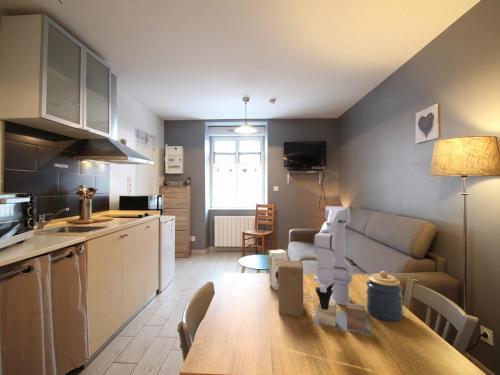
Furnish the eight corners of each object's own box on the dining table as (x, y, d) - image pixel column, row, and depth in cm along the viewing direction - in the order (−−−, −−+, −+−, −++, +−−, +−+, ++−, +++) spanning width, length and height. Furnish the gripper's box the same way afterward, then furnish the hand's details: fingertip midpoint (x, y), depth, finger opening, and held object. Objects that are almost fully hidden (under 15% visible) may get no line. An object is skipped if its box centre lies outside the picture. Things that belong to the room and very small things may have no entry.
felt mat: (317, 308, 103) (317, 307, 103) (369, 317, 95) (369, 316, 95) (312, 325, 90) (312, 324, 90) (372, 337, 82) (372, 336, 82)
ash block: (319, 318, 94) (319, 298, 94) (335, 321, 91) (335, 300, 91) (318, 324, 90) (318, 302, 90) (335, 327, 88) (335, 305, 88)
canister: (397, 308, 102) (396, 267, 102) (408, 325, 89) (407, 278, 90) (364, 305, 105) (363, 265, 106) (370, 320, 93) (369, 275, 93)
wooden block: (303, 317, 95) (303, 267, 95) (278, 315, 97) (278, 266, 97) (303, 306, 105) (302, 260, 105) (280, 304, 107) (279, 259, 107)
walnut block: (347, 324, 90) (346, 302, 90) (364, 327, 87) (364, 305, 88) (347, 329, 86) (346, 307, 86) (365, 333, 84) (365, 310, 84)
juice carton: (267, 285, 128) (267, 249, 129) (282, 283, 131) (282, 248, 131) (273, 290, 121) (273, 253, 121) (288, 288, 124) (288, 252, 124)
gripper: (316, 260, 94) (316, 294, 93) (310, 271, 80) (311, 312, 80) (335, 261, 91) (335, 297, 91) (332, 274, 78) (333, 316, 77)
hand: (325, 304), depth 85 cm, fingers open, 6 cm apart
